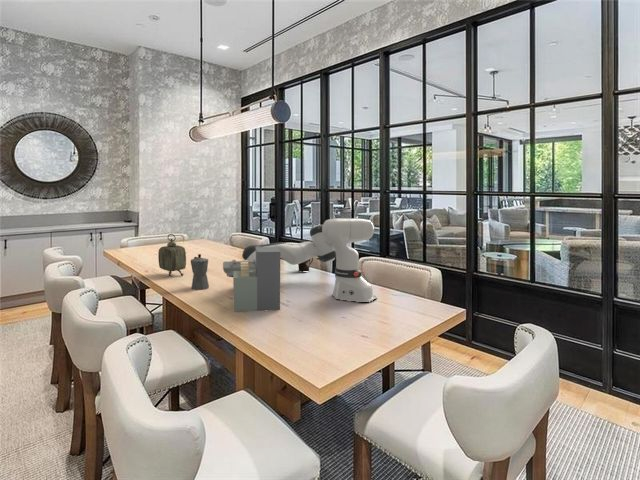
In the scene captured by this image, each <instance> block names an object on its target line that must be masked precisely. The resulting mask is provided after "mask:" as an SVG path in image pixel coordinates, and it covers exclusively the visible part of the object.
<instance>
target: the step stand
mask: <svg viewBox="0 0 640 480" xmlns="http://www.w3.org/2000/svg"><path fill="white" fill-rule="evenodd" d="M232 279H233V290H232V291H233V312H234V313H241V312H242V313H243V312H244V311H245V312H262V311H263V312H264V311H265V310H268V311H280V310H281V256H280V250H279V249H278V247H256V271H249V276H247V277H241V271H234V275H233V277H232ZM265 312H266V311H265Z"/></svg>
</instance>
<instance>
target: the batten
mask: <svg viewBox="0 0 640 480" xmlns="http://www.w3.org/2000/svg"><path fill="white" fill-rule="evenodd" d="M240 261H241V277H247V276H249V264H248V260H244V259H240Z"/></svg>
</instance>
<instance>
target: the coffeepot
mask: <svg viewBox="0 0 640 480" xmlns="http://www.w3.org/2000/svg"><path fill="white" fill-rule="evenodd" d="M197 256H198V257H197ZM197 256H194V257H193V258H191V259H190V265H191V270H192V274H193V275H192V283H191V290H195V291H201V290H202V291H203V290H207V289H209V288H210V286H209V279H208V275H207V272H208V267H209V266H208V265H209V258H205V257H202V254H201V253H199V254H197Z"/></svg>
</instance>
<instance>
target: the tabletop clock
mask: <svg viewBox="0 0 640 480" xmlns="http://www.w3.org/2000/svg"><path fill="white" fill-rule="evenodd" d="M170 236H173V237H174V239H173V238H169V237H170ZM167 240H168V241H169V242H167V244H166V245H165V246H161V247H160V248H159V249H158V257H157V258H158V267H159V268H160V269H161V270H164V271H167V272H168V274H167V276H168V277H169V276H170V277H172V273H173V272H176V271H177V272H179V274H180V276H181V277H183V276H184V273H182V271H181V270H185V269H186V266H187V253H186V249H185V247H184V246H182V245H177V243H176V242H175V240H176V235H174V234H172V233H169V234H168V235H167Z"/></svg>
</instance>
